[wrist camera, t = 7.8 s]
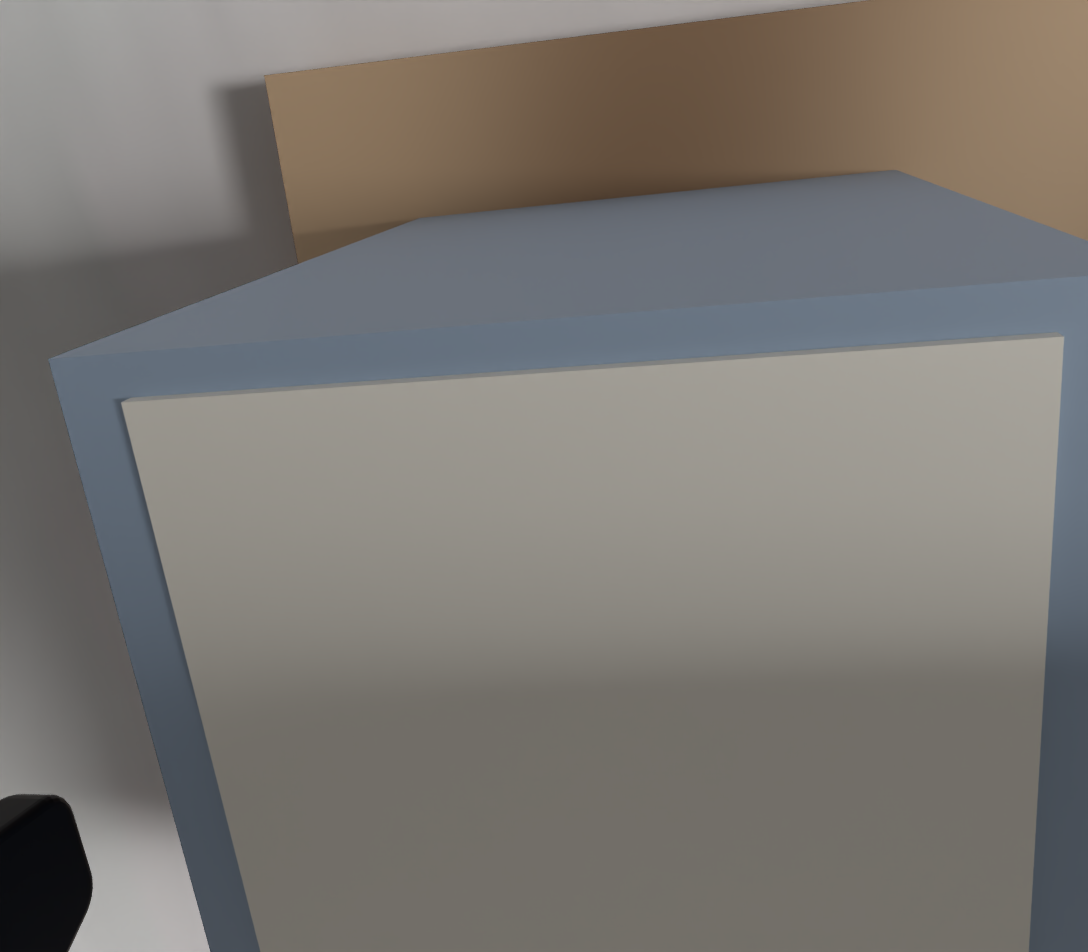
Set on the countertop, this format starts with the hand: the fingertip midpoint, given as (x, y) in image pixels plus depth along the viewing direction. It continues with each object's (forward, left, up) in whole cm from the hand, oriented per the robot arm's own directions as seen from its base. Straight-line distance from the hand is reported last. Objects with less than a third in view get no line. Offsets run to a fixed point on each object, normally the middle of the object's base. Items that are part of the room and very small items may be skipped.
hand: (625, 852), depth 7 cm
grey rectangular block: (0, 0, -4) cm, 4 cm away
